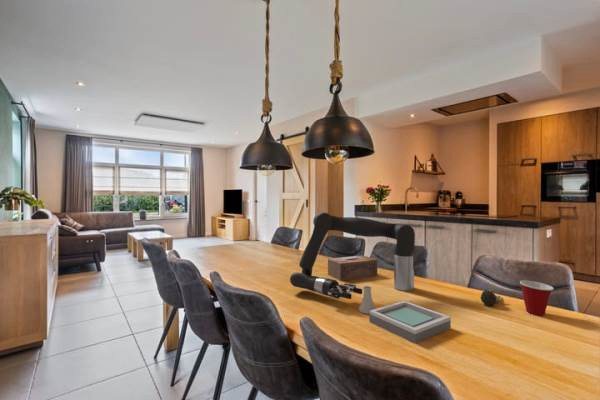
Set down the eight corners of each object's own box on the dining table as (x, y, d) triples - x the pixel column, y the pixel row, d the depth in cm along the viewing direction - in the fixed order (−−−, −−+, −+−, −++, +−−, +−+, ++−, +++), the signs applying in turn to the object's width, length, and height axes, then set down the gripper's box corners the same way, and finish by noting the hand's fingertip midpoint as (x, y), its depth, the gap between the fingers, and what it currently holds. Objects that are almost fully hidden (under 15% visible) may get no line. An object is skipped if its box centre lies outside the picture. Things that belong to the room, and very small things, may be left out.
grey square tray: (404, 310, 124) (404, 300, 124) (450, 328, 107) (450, 316, 107) (369, 321, 113) (369, 310, 113) (415, 343, 96) (415, 330, 96)
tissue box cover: (363, 270, 192) (363, 255, 192) (377, 276, 179) (377, 259, 179) (327, 275, 182) (327, 258, 182) (340, 281, 169) (340, 263, 169)
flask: (376, 315, 119) (376, 290, 119) (358, 314, 121) (358, 289, 121) (376, 308, 126) (375, 285, 126) (358, 307, 128) (358, 284, 128)
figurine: (506, 292, 135) (497, 292, 125) (505, 306, 135) (496, 308, 125) (486, 288, 141) (476, 288, 131) (485, 302, 140) (475, 303, 130)
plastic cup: (556, 321, 113) (556, 289, 113) (521, 315, 118) (521, 285, 118) (550, 311, 122) (550, 282, 122) (518, 306, 128) (518, 278, 128)
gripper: (316, 281, 133) (347, 289, 122) (335, 275, 143) (365, 281, 132) (316, 298, 133) (347, 307, 122) (335, 291, 143) (365, 298, 132)
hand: (356, 294), depth 127 cm, fingers open, 8 cm apart
